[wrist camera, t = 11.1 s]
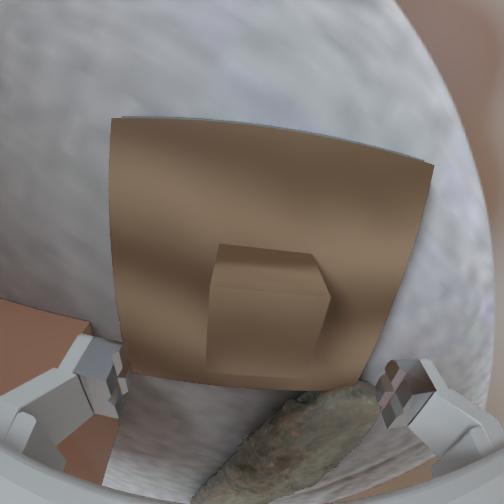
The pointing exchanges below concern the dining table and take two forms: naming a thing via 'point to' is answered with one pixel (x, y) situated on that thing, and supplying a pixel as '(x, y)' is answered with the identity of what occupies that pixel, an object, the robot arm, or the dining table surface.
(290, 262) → the walnut lid
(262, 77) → the dining table surface
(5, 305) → the terracotta box
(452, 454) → the robot arm
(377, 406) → the long grey stone
